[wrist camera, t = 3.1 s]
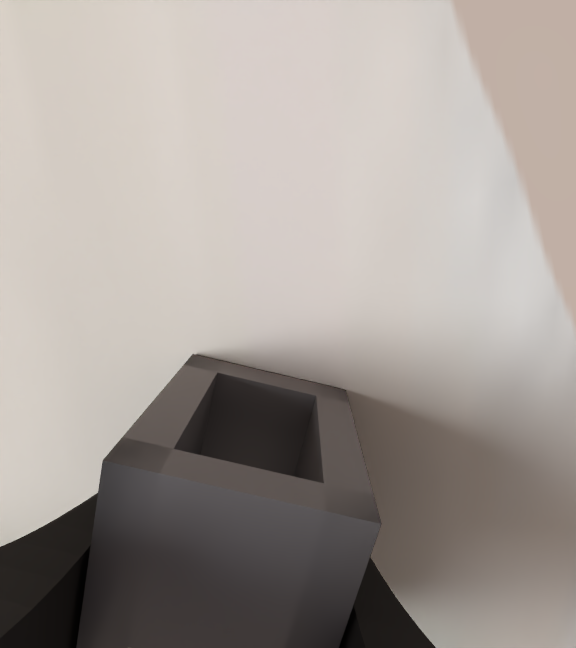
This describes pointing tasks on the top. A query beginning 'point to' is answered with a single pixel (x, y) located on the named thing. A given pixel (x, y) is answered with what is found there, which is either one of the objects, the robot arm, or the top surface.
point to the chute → (230, 517)
